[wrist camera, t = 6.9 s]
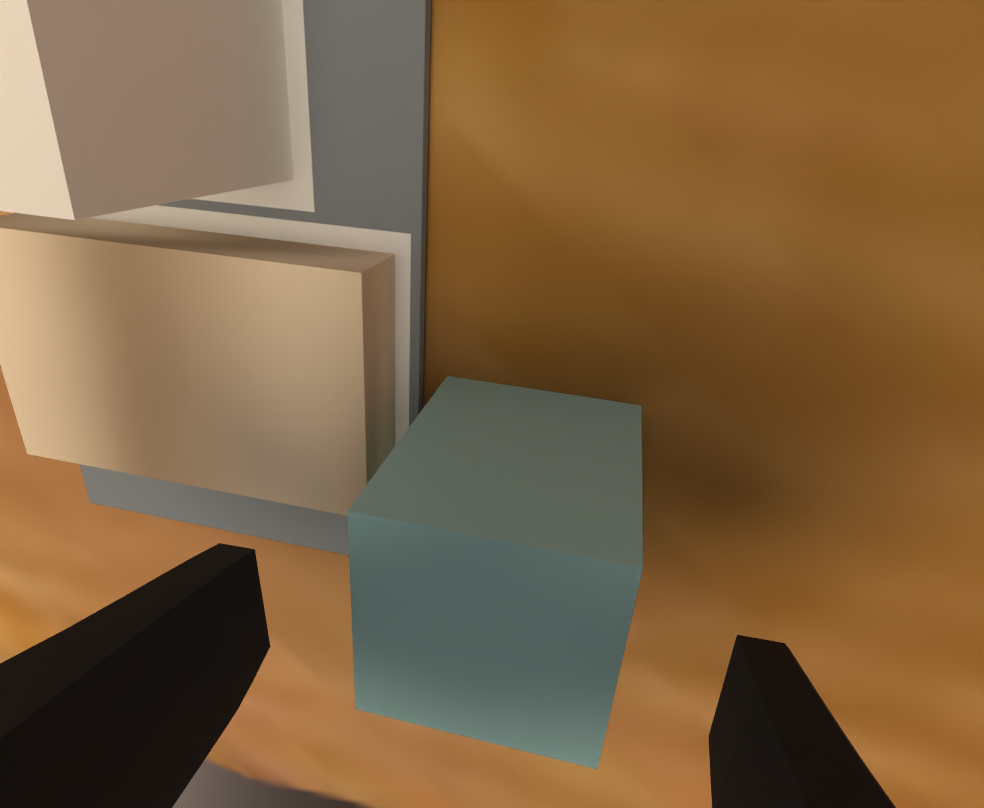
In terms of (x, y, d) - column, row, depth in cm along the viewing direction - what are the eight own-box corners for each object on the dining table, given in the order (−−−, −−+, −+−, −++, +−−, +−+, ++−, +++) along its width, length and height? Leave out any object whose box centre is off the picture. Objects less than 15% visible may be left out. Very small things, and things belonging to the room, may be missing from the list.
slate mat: (434, -196, 9) (428, -205, 9) (419, 561, 15) (415, 569, 15) (-76, -193, 10) (-96, -201, 10) (98, 496, 16) (89, 503, 16)
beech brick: (395, 253, 12) (361, 272, 10) (394, 478, 14) (367, 519, 12) (32, 210, 13) (-43, 222, 11) (85, 421, 15) (27, 453, 14)
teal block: (641, 404, 12) (642, 568, 8) (610, 562, 14) (597, 769, 10) (447, 375, 13) (347, 511, 8) (441, 529, 15) (355, 709, 10)
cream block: (276, -90, 10) (-31, -264, 5) (293, 179, 11) (74, 220, 7) (56, -96, 10) (-383, -257, 6) (104, 159, 12) (-206, 185, 8)
